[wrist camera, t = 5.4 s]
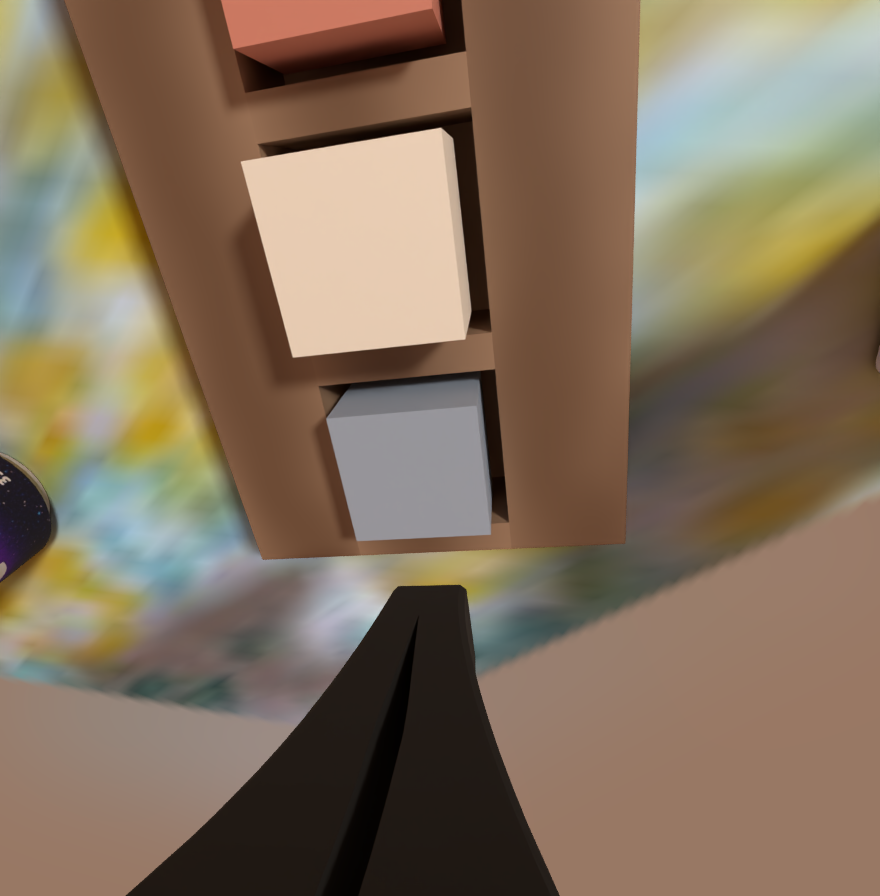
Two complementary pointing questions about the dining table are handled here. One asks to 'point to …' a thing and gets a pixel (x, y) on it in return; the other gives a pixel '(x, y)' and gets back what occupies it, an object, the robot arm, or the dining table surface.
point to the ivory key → (364, 242)
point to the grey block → (414, 457)
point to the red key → (330, 30)
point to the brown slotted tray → (485, 238)
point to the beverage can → (21, 515)
